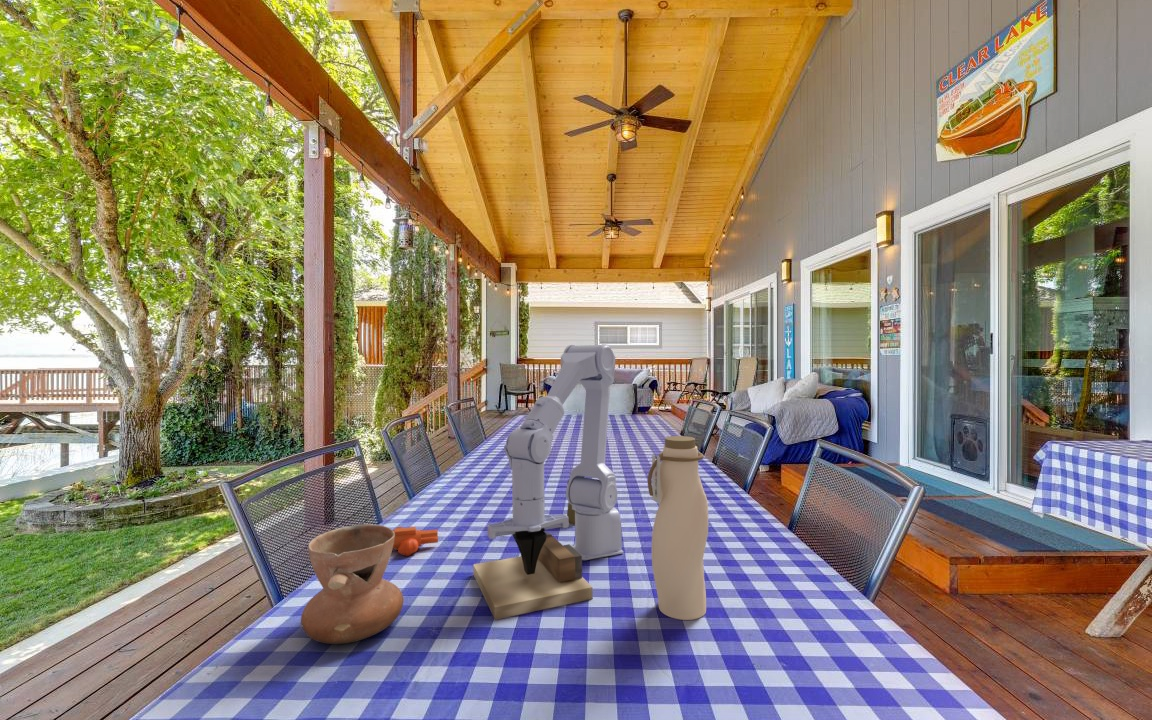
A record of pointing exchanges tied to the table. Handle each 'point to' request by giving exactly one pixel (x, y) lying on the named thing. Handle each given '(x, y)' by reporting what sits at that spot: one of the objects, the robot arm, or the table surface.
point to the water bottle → (679, 529)
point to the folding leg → (557, 559)
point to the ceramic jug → (351, 585)
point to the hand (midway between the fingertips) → (529, 572)
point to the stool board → (528, 586)
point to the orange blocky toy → (412, 539)
